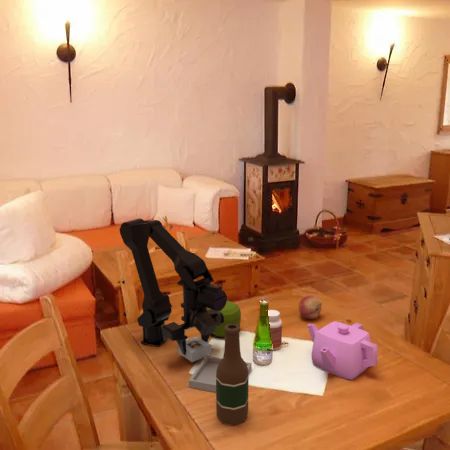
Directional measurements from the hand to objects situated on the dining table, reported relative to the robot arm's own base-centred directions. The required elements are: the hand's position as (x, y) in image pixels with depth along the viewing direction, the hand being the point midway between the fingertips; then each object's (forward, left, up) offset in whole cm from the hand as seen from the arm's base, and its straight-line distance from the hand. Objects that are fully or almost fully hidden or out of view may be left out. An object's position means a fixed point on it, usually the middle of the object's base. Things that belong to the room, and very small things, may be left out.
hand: (194, 350), depth 152 cm
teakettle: (+41, +9, -3) cm, 42 cm away
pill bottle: (+20, +14, -3) cm, 25 cm away
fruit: (+28, +37, -3) cm, 46 cm away
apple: (+3, +18, -3) cm, 18 cm away
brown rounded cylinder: (0, 0, -2) cm, 2 cm away
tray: (+11, -8, -2) cm, 14 cm away
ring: (0, 0, -1) cm, 1 cm away
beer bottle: (+19, -23, -3) cm, 30 cm away
